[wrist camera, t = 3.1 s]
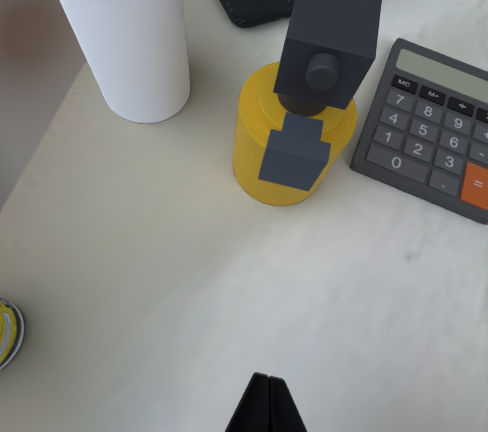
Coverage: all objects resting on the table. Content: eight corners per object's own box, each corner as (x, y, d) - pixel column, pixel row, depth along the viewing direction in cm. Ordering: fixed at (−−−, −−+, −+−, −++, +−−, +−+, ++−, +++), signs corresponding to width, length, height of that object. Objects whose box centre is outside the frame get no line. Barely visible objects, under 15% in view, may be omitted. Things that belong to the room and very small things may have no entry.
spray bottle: (314, 218, 25) (425, 87, 12) (222, 195, 25) (230, 40, 12) (327, 137, 28) (430, -43, 14) (243, 117, 28) (270, -82, 14)
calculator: (353, 162, 26) (398, 35, 31) (349, 168, 26) (393, 43, 32) (498, 222, 25) (519, 81, 30) (488, 226, 26) (510, 88, 31)
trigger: (308, 192, 17) (328, 162, 14) (257, 179, 17) (266, 146, 14) (314, 158, 18) (334, 123, 15) (265, 146, 18) (275, 108, 15)
